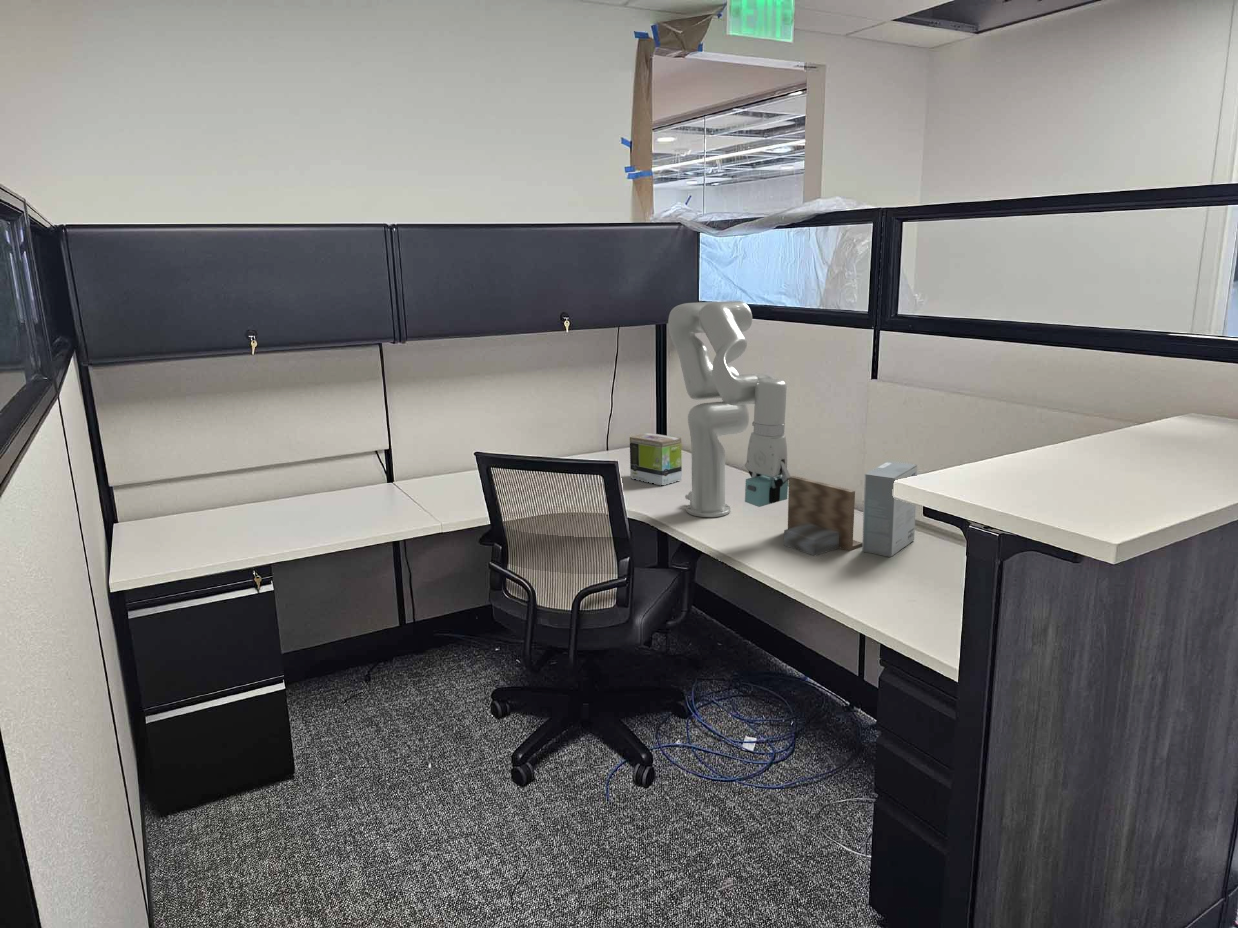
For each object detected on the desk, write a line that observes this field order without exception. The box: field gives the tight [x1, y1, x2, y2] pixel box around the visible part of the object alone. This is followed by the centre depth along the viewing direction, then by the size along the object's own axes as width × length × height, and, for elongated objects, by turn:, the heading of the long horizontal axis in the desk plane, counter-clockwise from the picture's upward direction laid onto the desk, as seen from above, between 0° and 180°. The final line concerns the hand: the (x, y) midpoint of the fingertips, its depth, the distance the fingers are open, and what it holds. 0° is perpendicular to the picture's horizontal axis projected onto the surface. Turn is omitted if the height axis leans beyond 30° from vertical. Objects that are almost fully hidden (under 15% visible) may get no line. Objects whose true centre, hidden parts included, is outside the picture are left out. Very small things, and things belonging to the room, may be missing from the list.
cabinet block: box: [744, 475, 789, 508], centre depth 207 cm, size 5×11×6 cm, turn 126°
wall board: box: [783, 475, 862, 557], centre depth 207 cm, size 20×14×15 cm
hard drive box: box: [861, 460, 918, 558], centre depth 203 cm, size 16×8×20 cm, turn 141°
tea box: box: [629, 432, 683, 486], centre depth 272 cm, size 15×10×15 cm
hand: (765, 498), depth 208 cm, fingers closed on cabinet block, 5 cm apart
